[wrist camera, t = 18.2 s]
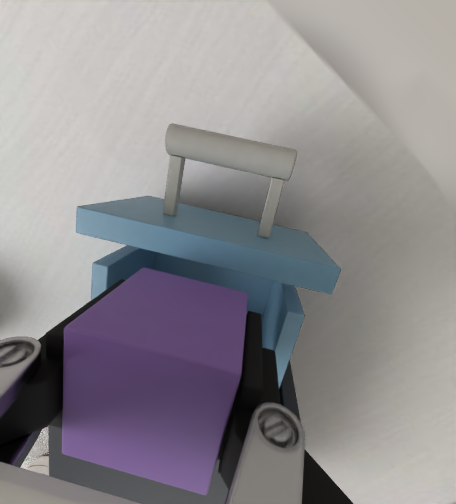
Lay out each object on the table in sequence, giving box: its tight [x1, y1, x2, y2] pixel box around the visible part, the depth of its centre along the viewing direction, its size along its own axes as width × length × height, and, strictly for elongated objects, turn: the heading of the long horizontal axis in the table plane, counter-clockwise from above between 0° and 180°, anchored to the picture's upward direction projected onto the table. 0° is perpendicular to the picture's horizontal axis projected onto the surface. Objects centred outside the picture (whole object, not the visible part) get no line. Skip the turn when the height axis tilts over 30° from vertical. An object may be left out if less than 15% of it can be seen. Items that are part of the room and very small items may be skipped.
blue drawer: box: [76, 124, 341, 388], centre depth 15 cm, size 18×11×7 cm, turn 168°
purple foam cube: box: [62, 267, 248, 495], centre depth 9 cm, size 4×4×4 cm
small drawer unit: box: [48, 359, 301, 504], centre depth 18 cm, size 15×13×9 cm
